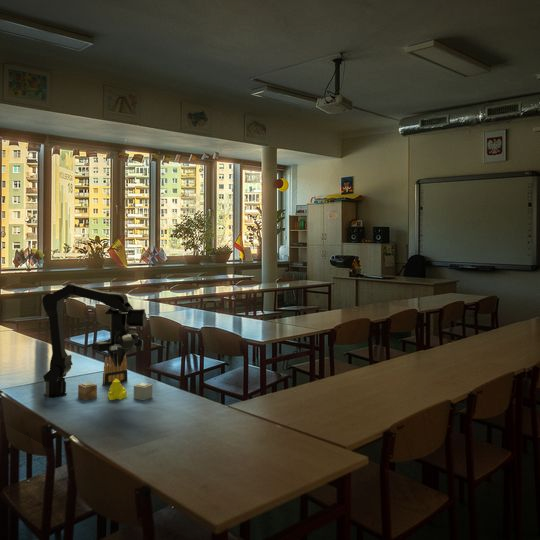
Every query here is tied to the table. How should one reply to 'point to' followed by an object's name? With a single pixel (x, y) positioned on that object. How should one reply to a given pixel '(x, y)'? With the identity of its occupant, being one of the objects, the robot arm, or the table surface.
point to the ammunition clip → (114, 372)
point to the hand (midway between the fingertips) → (117, 366)
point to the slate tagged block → (142, 391)
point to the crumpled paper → (116, 391)
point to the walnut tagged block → (87, 391)
